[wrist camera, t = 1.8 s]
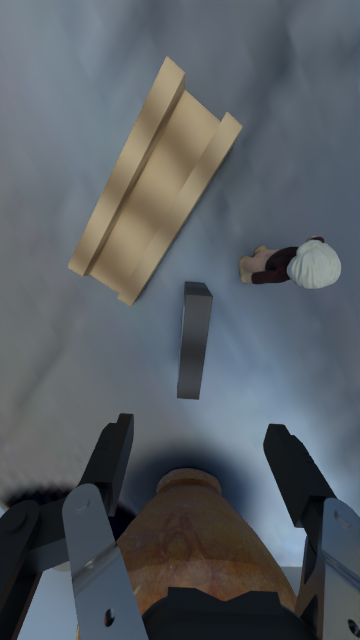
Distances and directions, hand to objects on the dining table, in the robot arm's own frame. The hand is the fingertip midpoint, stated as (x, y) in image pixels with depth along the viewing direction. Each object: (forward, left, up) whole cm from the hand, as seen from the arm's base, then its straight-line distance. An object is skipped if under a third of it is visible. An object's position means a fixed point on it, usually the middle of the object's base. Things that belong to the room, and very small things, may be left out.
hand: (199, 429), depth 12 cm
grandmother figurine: (-12, +2, -17) cm, 21 cm away
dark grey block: (0, 0, -17) cm, 17 cm away
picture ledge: (-9, -12, -17) cm, 23 cm away
